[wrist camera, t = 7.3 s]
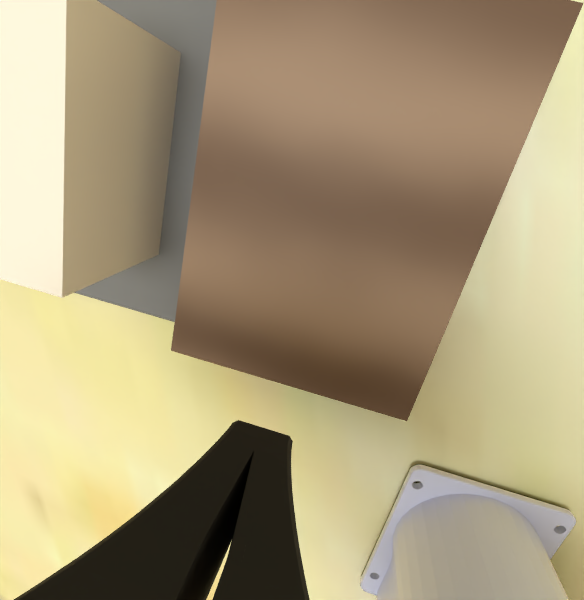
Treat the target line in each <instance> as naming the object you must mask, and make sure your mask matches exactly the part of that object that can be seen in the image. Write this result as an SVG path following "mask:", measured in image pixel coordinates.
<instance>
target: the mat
mask: <svg viewBox="0 0 584 600" xmlns="http://www.w3.org/2000/svg"><path fill="white" fill-rule="evenodd" d="M97 1H99V2H100V3H102V4H104V5H105V6H107V7H108V8H110V9H112V10H113V11H115V12H116V13H118V14H120V15H121V16H123V17H124V18H126V19H128V20H129V21H131V22H132V23H134V24H136V25H137V26H139V27H140V28H142V29H144V30H145V31H147V32H149V33H150V34H152V35H153V36H155V37H157V38H158V39H160V40H161V41H163V42H165V43H166V44H168V45H169V46H171V47H173V48H174V49H176V50H177V51H179V52H181V56H180V65H179V75H178V84H177V93H176V102H175V111H174V120H173V129H172V138H171V147H170V156H169V165H168V175H167V184H166V193H165V202H164V211H163V220H162V229H161V238H160V247H159V255H157V256H154V257H152V258H150V259H148V260H146V261H143V262H141V263H139V264H137V265H134V266H132V267H130V268H128V269H125V270H123V271H121V272H119V273H116V274H114V275H112V276H110V277H107V278H105V279H103V280H101V281H99V282H96V283H94V284H92V285H90V286H87V287H85V288H83V289H81V290H78V291H76V292H74V293H78V294H81V295H84V296H88V297H91V298H95V299H98V300H101V301H105V302H108V303H112V304H115V305H119V306H122V307H125V308H129V309H132V310H136V311H139V312H142V313H146V314H149V315H153V316H156V317H159V318H163V319H166V320H170V321H173V322H175V317H176V309H177V301H178V294H179V286H180V278H181V271H182V263H183V255H184V248H185V240H186V232H187V225H188V217H189V209H190V202H191V194H192V186H193V179H194V171H195V163H196V156H197V148H198V140H199V133H200V125H201V117H202V110H203V102H204V94H205V86H206V79H207V71H208V63H209V56H210V48H211V40H212V33H213V25H214V17H215V10H216V2H217V0H97Z"/></svg>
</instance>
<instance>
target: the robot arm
mask: <svg viewBox="0 0 584 600" xmlns="http://www.w3.org/2000/svg"><path fill="white" fill-rule="evenodd" d="M292 442H293V441H292V440H291V438H290V436H288V435H285V434H281V433H278V432H275V431H272V430H268V429H265V428H262V427H259V426H255V425H252V424H249V423H246V422H243V421H239V420H238V421H236V422H234V423H232V425H231V426H230V427H229V428H228V430H227V431H226V432H225V433H224V434H223V435H222V436H221V438H220V439H219V440H218V441H217V442H216V443H215V444H214V445H213V446H212V447H211V448H210V449H209V450H208V451H207V452H206V453H205V454H204V455H203V456H202V457H201V458H200V459H199V460H198V461H197V462H196V463H195V464H194V465H193V466H192V467H191V468H189V469H188V470H187V471H186V472H185V473H184V474H183V475H182V476H181V477H180V478H179V479H178V480H177V481H175V482H174V483H173V484H172V485H171V486H170V487H169V488H167V489H166V490H165V491H164V492H163V493H161V494H160V495H159V496H158V497H157V498H155V499H154V500H153V501H152V502H151V503H149V504H148V505H147V506H146V507H145V508H143V509H142V510H141V511H140V512H139V513H137V514H136V515H135V516H134V517H132V518H131V519H130V520H128V521H127V522H126V523H125V524H123V525H122V526H121V527H119V528H118V529H117V530H115V531H114V532H113V533H111V534H110V535H109V536H107V537H106V538H105V539H103V540H102V541H100V542H99V543H98V544H96V545H95V546H93V547H92V548H91V549H89V550H88V551H87V552H85V553H84V554H82V555H81V556H79V557H78V558H77V559H75V560H74V561H72V562H71V563H69V564H68V565H66V566H65V567H63V568H62V569H60V570H59V571H57V572H56V573H54V574H53V575H51V576H50V577H48V578H47V579H45V580H44V581H42V582H41V583H39V584H38V585H36V586H35V587H33V588H31V589H30V590H28V591H27V592H25V593H24V594H22V595H20V596H19V597H17V598H16V599H14V600H206V599H207V596H208V594H209V592H210V589H211V587H212V585H213V582H214V580H215V578H216V575H217V573H218V571H219V568H220V566H221V564H222V561H223V559H224V557H225V554H226V552H227V550H228V547H229V545H230V542H231V546H230V550H229V554H228V557H227V560H226V563H225V566H224V569H223V572H222V574H221V577H220V580H219V583H218V586H217V589H216V591H215V594H214V597H213V600H309V595H308V591H307V586H306V581H305V576H304V570H303V565H302V560H301V554H300V548H299V542H298V536H297V529H296V521H295V513H294V504H293V495H292V480H291V449H292ZM415 481H420V483H413V482H415ZM575 524H576V519H575V517H574V515H573V514H572V513H571V511H569V510H567V509H565V508H561V507H558V506H555V505H552V504H548V503H545V502H542V501H539V500H535V499H532V498H529V497H526V496H522V495H519V494H516V493H513V492H509V491H506V490H503V489H500V488H496V487H493V486H490V485H487V484H483V483H480V482H477V481H474V480H470V479H467V478H464V477H460V476H457V475H454V474H451V473H447V472H444V471H441V470H438V469H434V468H431V467H428V466H425V465H415V466H413V467H412V468H411V469H410V470H409V473H408V475H407V477H406V479H405V482H404V484H403V486H402V488H401V490H400V493H399V495H398V497H397V499H396V501H395V504H394V506H393V508H392V510H391V513H390V515H389V517H388V519H387V521H386V524H385V526H384V528H383V530H382V532H381V535H380V537H379V539H378V541H377V543H376V546H375V548H374V550H373V552H372V555H371V557H370V559H369V561H368V563H367V566H366V568H365V570H364V572H363V574H362V577H361V580H360V586H361V588H362V589H363V590H364V591H366V592H368V593H371V594H374V595H377V600H569V598H568V596H567V594H566V592H565V590H564V588H563V586H562V584H561V582H560V580H559V578H558V575H557V573H556V571H555V569H554V567H553V565H552V563H551V561H550V559H551V558H552V557H553V555H554V554H555V552H556V551H557V549H558V548H559V547H560V545H561V544H562V542H563V541H564V540H565V538H566V537H567V535H568V534H569V533H570V531H571V530H572V528H573V527H574V526H575ZM559 525H560V526H559ZM556 526H557V527H556ZM231 540H232V541H231Z"/></svg>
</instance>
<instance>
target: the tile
mask: <svg viewBox="0 0 584 600" xmlns="http://www.w3.org/2000/svg"><path fill="white" fill-rule="evenodd" d="M180 56H181V52H179V51H177V50H176V49H174V48H173V47H171V46H169V45H168V44H166V43H165V42H163V41H161V40H160V39H158V38H157V37H155V36H153V35H152V34H150V33H149V32H147V31H145V30H144V29H142V28H140V27H139V26H137V25H136V24H134V23H132V22H131V21H129V20H128V19H126V18H124V17H123V16H121V15H120V14H118V13H116V12H115V11H113V10H112V9H110V8H108V7H107V6H105V5H104V4H102V3H100V2H99V1H97V0H0V279H1V280H5V281H8V282H11V283H15V284H18V285H21V286H25V287H28V288H31V289H35V290H38V291H41V292H45V293H48V294H51V295H55V296H58V297H61V298H63V297H65V296H67V295H69V294H72V293H74V292H76V291H78V290H81V289H83V288H85V287H87V286H90V285H92V284H94V283H96V282H99V281H101V280H103V279H105V278H107V277H110V276H112V275H114V274H116V273H119V272H121V271H123V270H125V269H128V268H130V267H132V266H134V265H137V264H139V263H141V262H143V261H146V260H148V259H150V258H152V257H154V256H157V255H159V247H160V238H161V229H162V220H163V211H164V202H165V193H166V184H167V175H168V165H169V156H170V147H171V138H172V129H173V120H174V111H175V102H176V93H177V84H178V75H179V65H180Z"/></svg>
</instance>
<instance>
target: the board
mask: <svg viewBox="0 0 584 600" xmlns="http://www.w3.org/2000/svg"><path fill="white" fill-rule="evenodd" d="M582 5H583V3H580V2H575V1H571V0H217V2H216V10H215V17H214V25H213V33H212V40H211V48H210V56H209V63H208V71H207V79H206V86H205V94H204V102H203V110H202V117H201V125H200V133H199V140H198V148H197V156H196V163H195V171H194V179H193V186H192V194H191V202H190V209H189V217H188V225H187V232H186V240H185V248H184V255H183V263H182V271H181V278H180V286H179V294H178V301H177V309H176V317H175V325H174V332H173V340H172V348H171V351H174V352H178V353H181V354H184V355H188V356H191V357H194V358H198V359H201V360H204V361H208V362H211V363H214V364H218V365H221V366H224V367H228V368H231V369H235V370H238V371H241V372H245V373H248V374H251V375H255V376H258V377H261V378H265V379H268V380H271V381H275V382H278V383H281V384H285V385H288V386H291V387H295V388H298V389H301V390H305V391H308V392H311V393H315V394H318V395H321V396H325V397H328V398H331V399H335V400H338V401H341V402H345V403H348V404H352V405H355V406H358V407H362V408H365V409H368V410H372V411H375V412H378V413H382V414H385V415H388V416H392V417H395V418H398V419H402V420H405V421H407V420H408V417H409V415H410V412H411V410H412V408H413V405H414V403H415V401H416V398H417V396H418V394H419V391H420V389H421V386H422V384H423V382H424V379H425V377H426V375H427V372H428V370H429V367H430V365H431V363H432V360H433V358H434V356H435V353H436V351H437V349H438V346H439V344H440V341H441V339H442V337H443V334H444V332H445V330H446V327H447V325H448V323H449V320H450V318H451V315H452V313H453V311H454V308H455V306H456V304H457V301H458V299H459V296H460V294H461V292H462V289H463V287H464V285H465V282H466V280H467V278H468V275H469V273H470V270H471V268H472V266H473V263H474V261H475V259H476V256H477V254H478V251H479V249H480V247H481V244H482V242H483V240H484V237H485V235H486V233H487V230H488V228H489V225H490V223H491V221H492V218H493V216H494V214H495V211H496V209H497V206H498V204H499V202H500V199H501V197H502V195H503V192H504V190H505V188H506V185H507V183H508V180H509V178H510V176H511V173H512V171H513V169H514V166H515V164H516V161H517V159H518V157H519V154H520V152H521V150H522V147H523V145H524V143H525V140H526V138H527V135H528V133H529V131H530V128H531V126H532V124H533V121H534V119H535V117H536V114H537V112H538V109H539V107H540V105H541V102H542V100H543V98H544V95H545V93H546V90H547V88H548V86H549V83H550V81H551V79H552V76H553V74H554V72H555V69H556V67H557V64H558V62H559V60H560V57H561V55H562V53H563V50H564V48H565V45H566V43H567V41H568V38H569V36H570V34H571V31H572V29H573V27H574V24H575V22H576V19H577V17H578V15H579V12H580V10H581V8H582Z"/></svg>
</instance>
